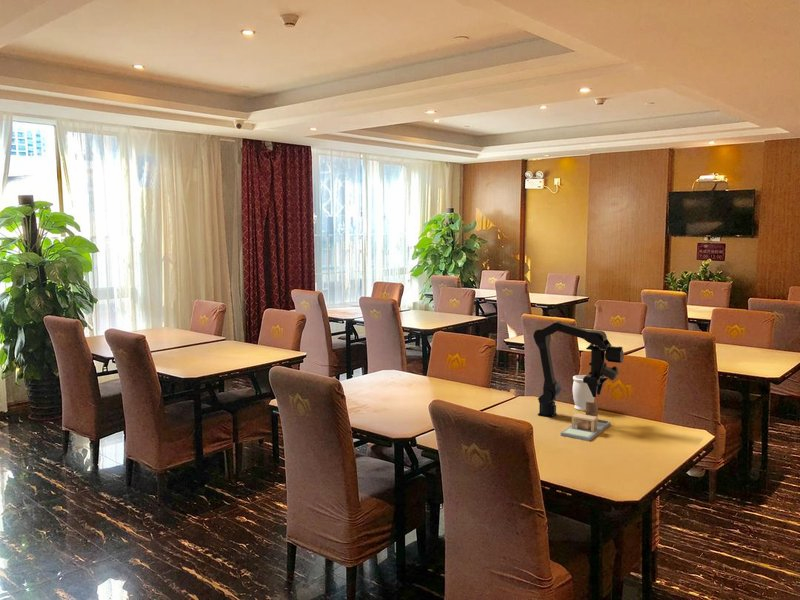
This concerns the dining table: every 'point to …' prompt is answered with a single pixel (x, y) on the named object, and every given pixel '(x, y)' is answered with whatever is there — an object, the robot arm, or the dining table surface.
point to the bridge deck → (584, 434)
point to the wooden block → (590, 410)
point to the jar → (581, 393)
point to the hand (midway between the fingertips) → (596, 395)
